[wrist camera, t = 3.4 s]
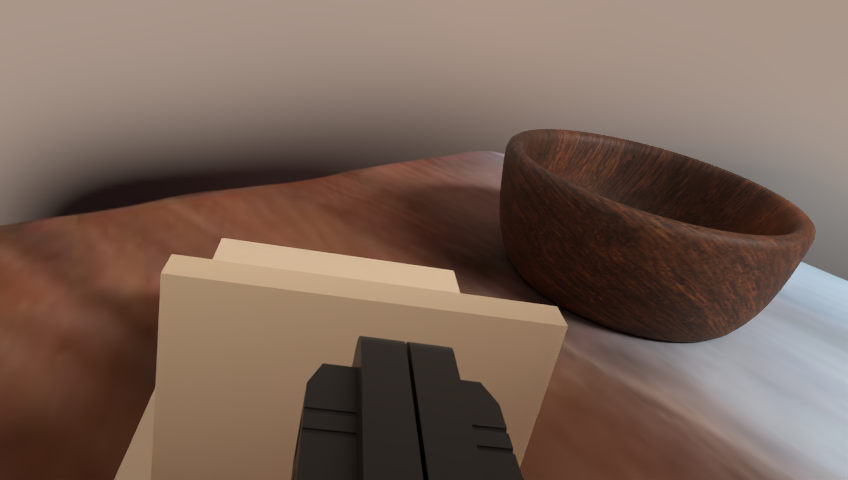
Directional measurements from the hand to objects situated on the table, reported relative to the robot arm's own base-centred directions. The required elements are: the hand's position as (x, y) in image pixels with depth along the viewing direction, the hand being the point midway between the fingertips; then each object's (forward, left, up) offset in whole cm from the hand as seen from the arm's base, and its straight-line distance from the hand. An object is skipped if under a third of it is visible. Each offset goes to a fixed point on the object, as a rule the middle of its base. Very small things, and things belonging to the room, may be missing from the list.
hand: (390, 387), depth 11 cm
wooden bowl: (-42, -23, -17) cm, 51 cm away
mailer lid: (-7, -13, -10) cm, 18 cm away
